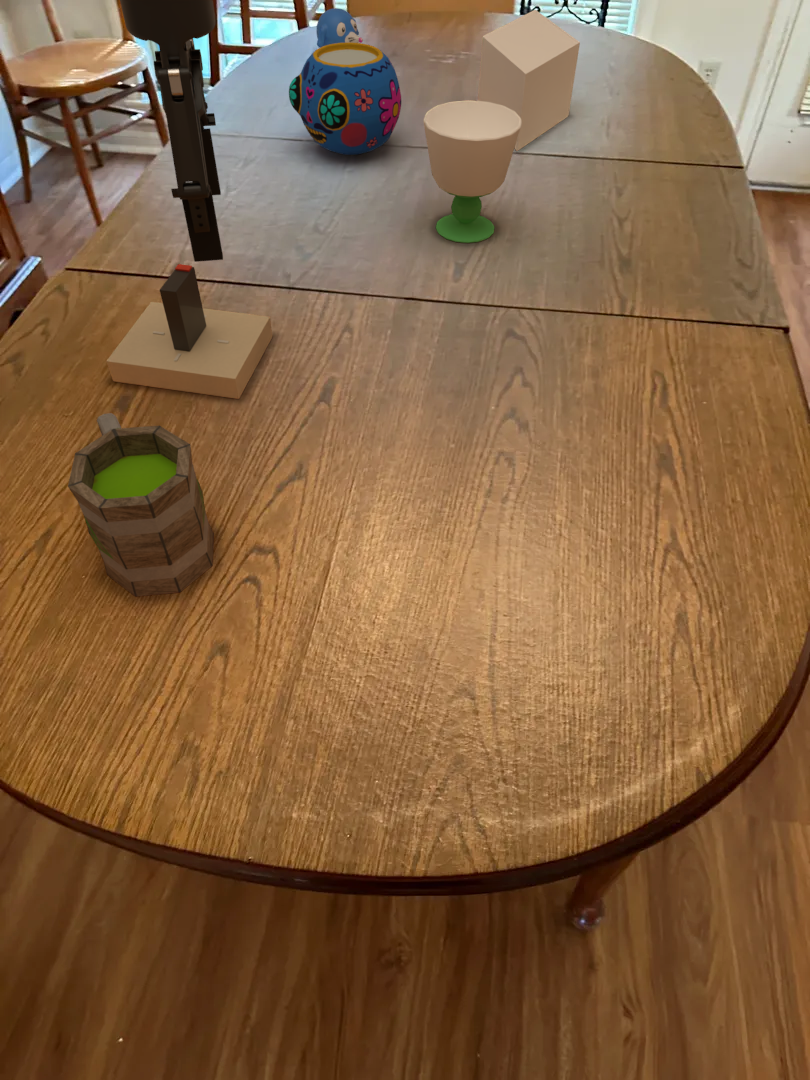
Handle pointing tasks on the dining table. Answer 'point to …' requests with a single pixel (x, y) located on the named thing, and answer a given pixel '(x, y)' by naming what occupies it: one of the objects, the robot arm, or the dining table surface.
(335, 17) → the blue mole toy
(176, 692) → the dining table surface
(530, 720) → the dining table surface
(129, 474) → the mug
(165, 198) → the dining table surface
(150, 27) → the robot arm
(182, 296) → the dark brown upright block
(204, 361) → the tan rectangular slab
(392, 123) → the ceramic pot
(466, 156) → the cup
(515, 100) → the block
